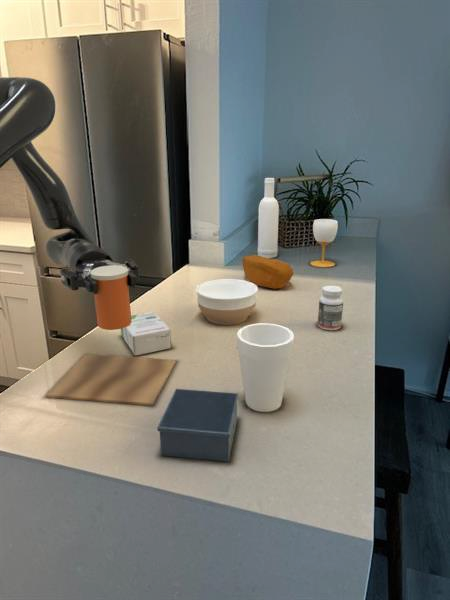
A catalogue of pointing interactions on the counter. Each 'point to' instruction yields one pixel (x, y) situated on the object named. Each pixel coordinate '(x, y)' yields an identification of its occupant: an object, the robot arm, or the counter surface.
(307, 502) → the counter surface
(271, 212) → the bottle
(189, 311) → the counter surface
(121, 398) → the cutting board
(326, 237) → the cup
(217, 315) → the bowl
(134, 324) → the ink box
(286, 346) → the foam cup
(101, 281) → the tub
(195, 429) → the tin
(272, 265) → the bread
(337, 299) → the pill bottle
